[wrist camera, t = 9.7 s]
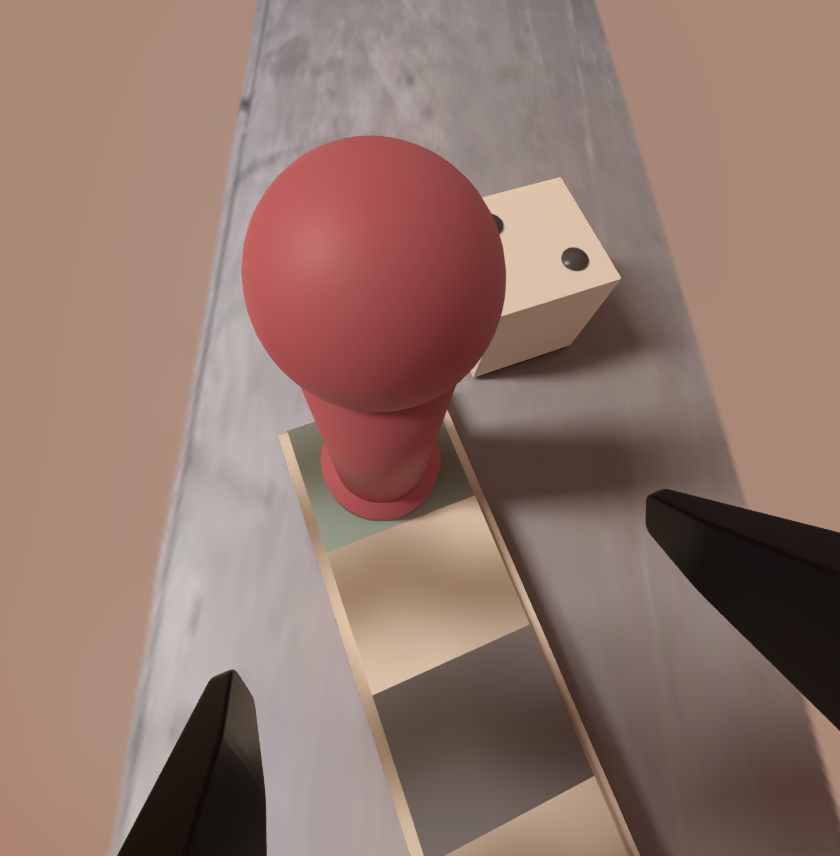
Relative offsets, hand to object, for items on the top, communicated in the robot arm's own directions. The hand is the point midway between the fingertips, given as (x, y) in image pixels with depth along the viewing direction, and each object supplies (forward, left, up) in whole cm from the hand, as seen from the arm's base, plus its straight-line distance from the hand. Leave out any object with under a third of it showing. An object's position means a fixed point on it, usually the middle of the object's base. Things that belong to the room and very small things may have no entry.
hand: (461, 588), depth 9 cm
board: (-5, 0, -9) cm, 10 cm away
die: (+10, -8, -9) cm, 16 cm away
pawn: (+5, 0, -8) cm, 9 cm away
